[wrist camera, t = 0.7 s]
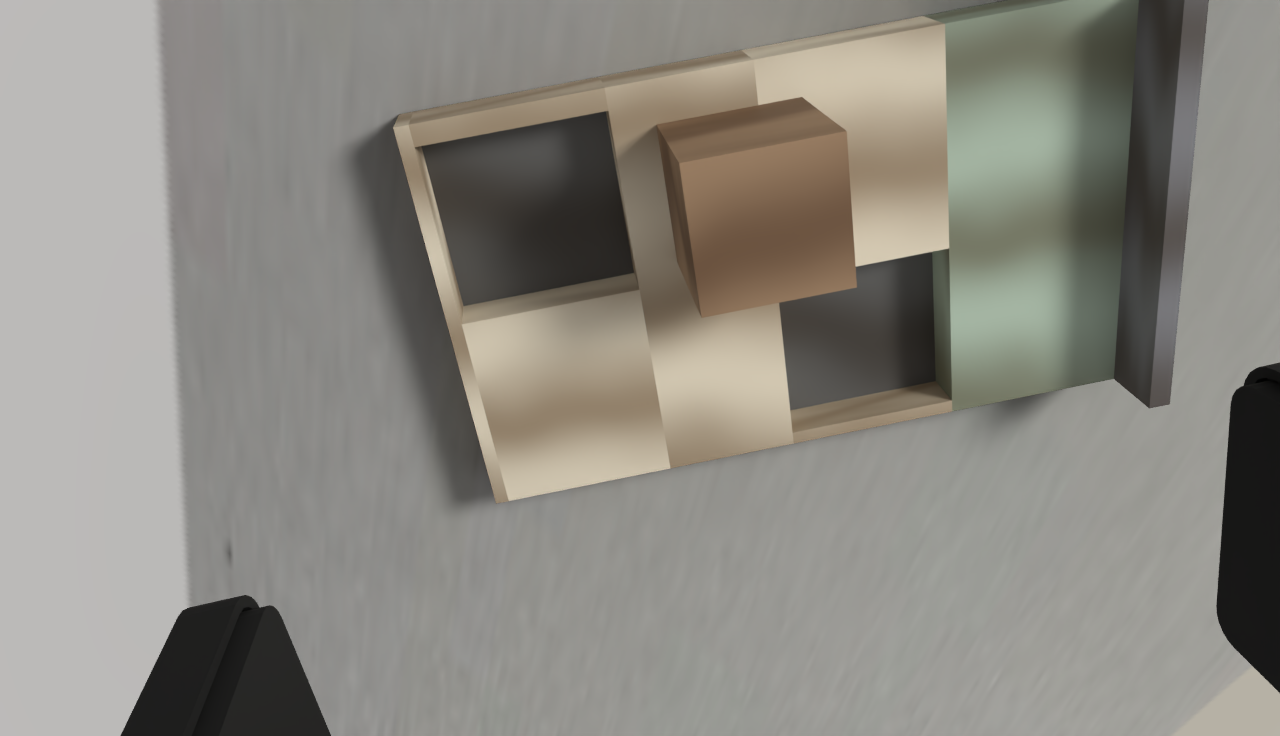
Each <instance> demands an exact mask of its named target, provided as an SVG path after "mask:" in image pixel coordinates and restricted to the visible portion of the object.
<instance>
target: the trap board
mask: <svg viewBox="0 0 1280 736" xmlns="http://www.w3.org/2000/svg"><path fill="white" fill-rule="evenodd" d="M1208 2H1209V0H1005V1H1000V2H995V3H989V4H984V5H979V6H973V7H968V8H963V9H957V10H952V11H947V12H941V13H936V14H931V15H926V16H920V17H915V18H910V19H904V20H899V21H894V22H888V23H883V24H878V25H872V26H867V27H862V28H856V29H851V30H846V31H840V32H835V33H830V34H824V35H819V36H814V37H808V38H803V39H798V40H793V41H787V42H782V43H777V44H771V45H766V46H761V47H755V48H750V49H745V50H739V51H734V52H729V53H723V54H718V55H713V56H707V57H702V58H697V59H691V60H686V61H681V62H675V63H670V64H665V65H660V66H654V67H649V68H644V69H638V70H633V71H628V72H622V73H617V74H612V75H606V76H601V77H596V78H590V79H585V80H580V81H574V82H569V83H564V84H558V85H553V86H548V87H542V88H537V89H532V90H527V91H521V92H516V93H511V94H505V95H500V96H495V97H489V98H484V99H479V100H473V101H468V102H463V103H457V104H452V105H447V106H441V107H436V108H431V109H425V110H420V111H415V112H409V113H404V114H399V116H398V118H397V120H396V123H395V125H394V127H393V129H394V132H395V136H396V140H397V143H398V147H399V151H400V154H401V158H402V162H403V165H404V169H405V173H406V176H407V180H408V184H409V187H410V191H411V194H412V198H413V202H414V205H415V209H416V213H417V216H418V220H419V224H420V227H421V231H422V235H423V238H424V242H425V246H426V249H427V253H428V256H429V260H430V264H431V267H432V271H433V275H434V278H435V282H436V286H437V289H438V293H439V297H440V300H441V304H442V308H443V311H444V315H445V318H446V322H447V326H448V329H449V333H450V337H451V340H452V344H453V348H454V351H455V355H456V359H457V362H458V366H459V370H460V373H461V377H462V380H463V384H464V388H465V391H466V395H467V399H468V402H469V406H470V410H471V413H472V417H473V421H474V424H475V428H476V432H477V435H478V439H479V442H480V446H481V450H482V453H483V457H484V461H485V464H486V468H487V472H488V475H489V479H490V483H491V486H492V490H493V494H494V497H495V501H496V503H501V502H506V501H511V500H516V499H521V498H526V497H531V496H536V495H541V494H546V493H551V492H556V491H561V490H566V489H571V488H576V487H580V486H585V485H590V484H595V483H600V482H605V481H610V480H615V479H620V478H625V477H630V476H635V475H640V474H645V473H650V472H655V471H660V470H665V469H670V468H674V467H679V466H684V465H689V464H694V463H699V462H704V461H709V460H714V459H719V458H724V457H729V456H734V455H739V454H744V453H749V452H754V451H759V450H764V449H768V448H773V447H778V446H783V445H788V444H793V443H798V442H803V441H808V440H813V439H818V438H823V437H828V436H833V435H838V434H843V433H848V432H853V431H858V430H862V429H867V428H872V427H877V426H882V425H887V424H892V423H897V422H902V421H907V420H912V419H917V418H922V417H927V416H932V415H937V414H942V413H947V412H951V411H956V410H961V409H966V408H971V407H976V406H981V405H986V404H991V403H996V402H1001V401H1006V400H1011V399H1016V398H1021V397H1026V396H1031V395H1036V394H1041V393H1045V392H1050V391H1055V390H1060V389H1065V388H1070V387H1075V386H1080V385H1085V384H1090V383H1095V382H1100V381H1105V380H1110V379H1115V380H1116V381H1117V382H1118V383H1120V384H1121V385H1122V386H1123V387H1124V388H1126V389H1127V390H1128V391H1129V392H1130V393H1132V394H1133V395H1134V396H1135V397H1136V398H1138V399H1139V400H1140V401H1141V402H1142V403H1144V404H1145V405H1146V406H1147V407H1148V408H1153V407H1158V406H1163V405H1168V404H1170V395H1171V385H1172V375H1173V364H1174V354H1175V344H1176V333H1177V323H1178V313H1179V302H1180V292H1181V282H1182V271H1183V261H1184V250H1185V240H1186V230H1187V219H1188V209H1189V199H1190V188H1191V178H1192V168H1193V157H1194V147H1195V137H1196V126H1197V116H1198V106H1199V95H1200V85H1201V75H1202V64H1203V54H1204V43H1205V33H1206V23H1207V12H1208ZM799 97H803V98H804V99H805V100H807V101H808V102H809V103H810V104H812V105H813V106H814V107H816V108H817V109H818V110H820V111H821V112H822V113H824V114H825V115H826V116H828V117H829V118H830V119H831V120H833V121H834V122H835V123H837V124H838V125H839V126H841V127H842V128H843V129H845V130H846V131H847V142H848V158H849V173H850V189H851V204H852V220H853V235H854V250H855V266H856V281H857V287H856V288H851V289H846V290H841V291H836V292H831V293H826V294H821V295H816V296H811V297H806V298H801V299H796V300H790V301H785V302H780V303H775V304H770V305H765V306H760V307H755V308H750V309H745V310H740V311H735V312H730V313H724V314H719V315H714V316H709V317H704V318H701V316H700V313H699V311H698V309H697V306H696V304H695V302H694V300H693V297H692V295H691V293H690V290H689V288H688V286H687V284H686V281H685V279H684V277H683V274H682V272H681V270H680V268H679V265H678V263H677V257H676V251H675V244H674V237H673V231H672V224H671V218H670V211H669V205H668V198H667V192H666V185H665V178H664V172H663V165H662V159H661V152H660V146H659V139H658V133H657V126H656V125H657V124H662V123H667V122H672V121H678V120H683V119H688V118H694V117H699V116H704V115H709V114H715V113H720V112H725V111H730V110H736V109H741V108H746V107H751V106H757V105H762V104H767V103H772V102H778V101H783V100H788V99H794V98H799Z"/></svg>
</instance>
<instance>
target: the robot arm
mask: <svg viewBox="0 0 1280 736" xmlns="http://www.w3.org/2000/svg"><path fill="white" fill-rule="evenodd" d="M1217 616H1218V620H1219V624H1220V626H1221V628H1222V631H1223V633H1224V635H1225V636H1226V638H1227V640H1228V641H1229V642H1230V643H1231V645H1232V646H1233V647H1234V648H1235V649H1236V650H1237V651H1238V652H1239V653H1240V654H1241V655H1242V656H1243V657H1244V658H1245V659H1246V660H1247V661H1248V662H1249V663H1250V664H1251V665H1252V666H1253V667H1254V668H1255V669H1256V670H1257V671H1258V672H1259V673H1260V674H1261V675H1262V676H1264V678H1265V679H1266V680H1268V681H1269V683H1270V684H1272V685H1273V687H1274V688H1275V689H1276V690H1278V692H1280V363H1276V364H1272V365H1267V366H1263V367H1258V368H1256V369H1254V370H1253V371H1251V372H1250V373H1249V375H1248V377H1247V378H1246V380H1245V383H1244V386H1242V387H1240V388H1239V389H1237V390H1236V391H1235V393H1234V395H1233V396H1232V401H1231V409H1230V423H1229V438H1228V452H1227V466H1226V480H1225V494H1224V508H1223V522H1222V536H1221V550H1220V564H1219V578H1218V592H1217ZM121 736H331V735H330V732H329V730H328V727H327V725H326V723H325V720H324V718H323V715H322V713H321V711H320V708H319V706H318V703H317V701H316V699H315V696H314V694H313V691H312V689H311V687H310V684H309V682H308V679H307V677H306V675H305V672H304V670H303V667H302V665H301V663H300V660H299V658H298V656H297V653H296V651H295V648H294V646H293V644H292V641H291V639H290V636H289V634H288V632H287V629H286V627H285V624H284V622H283V620H282V617H281V616H280V614H279V612H278V610H277V609H276V608H275V607H273V606H265V607H261V608H259V606H258V604H257V603H256V601H255V600H254V599H253V598H252V597H250V596H247V595H243V596H239V597H234V598H230V599H226V600H221V601H217V602H212V603H208V604H203V605H199V606H194V607H190V608H187V609H185V610H183V611H182V612H181V614H180V615H179V616H178V618H177V620H176V622H175V624H174V626H173V628H172V630H171V632H170V634H169V637H168V639H167V641H166V643H165V645H164V647H163V649H162V651H161V653H160V655H159V657H158V659H157V662H156V663H155V665H154V668H153V670H152V672H151V674H150V676H149V678H148V680H147V682H146V684H145V686H144V689H143V690H142V692H141V694H140V697H139V699H138V701H137V703H136V705H135V707H134V709H133V711H132V713H131V715H130V717H129V719H128V721H127V724H126V726H125V728H124V730H123V732H122V734H121Z"/></svg>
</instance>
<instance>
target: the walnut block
mask: <svg viewBox="0 0 1280 736" xmlns="http://www.w3.org/2000/svg"><path fill="white" fill-rule="evenodd" d="M656 126H657V133H658V139H659V146H660V152H661V159H662V165H663V172H664V178H665V185H666V192H667V198H668V205H669V211H670V218H671V224H672V231H673V237H674V244H675V251H676V257H677V263H678V265H679V268H680V270H681V272H682V274H683V277H684V279H685V281H686V284H687V286H688V288H689V290H690V293H691V295H692V297H693V300H694V302H695V304H696V306H697V309H698V311H699V313H700V316H701V318H704V317H709V316H714V315H719V314H724V313H730V312H735V311H740V310H745V309H750V308H755V307H760V306H765V305H770V304H775V303H780V302H785V301H790V300H796V299H801V298H806V297H811V296H816V295H821V294H826V293H831V292H836V291H841V290H846V289H851V288H856V287H857V281H856V266H855V250H854V235H853V220H852V204H851V189H850V173H849V158H848V142H847V131H846V130H845V129H843V128H842V127H841V126H839V125H838V124H837V123H835V122H834V121H833V120H831V119H830V118H829V117H828V116H826V115H825V114H824V113H822V112H821V111H820V110H818V109H817V108H816V107H814V106H813V105H812V104H810V103H809V102H808V101H807V100H805V99H804V98H803V97H799V98H794V99H788V100H783V101H778V102H772V103H767V104H762V105H757V106H751V107H746V108H741V109H736V110H730V111H725V112H720V113H715V114H709V115H704V116H699V117H694V118H688V119H683V120H678V121H672V122H667V123H662V124H657V125H656Z"/></svg>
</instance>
